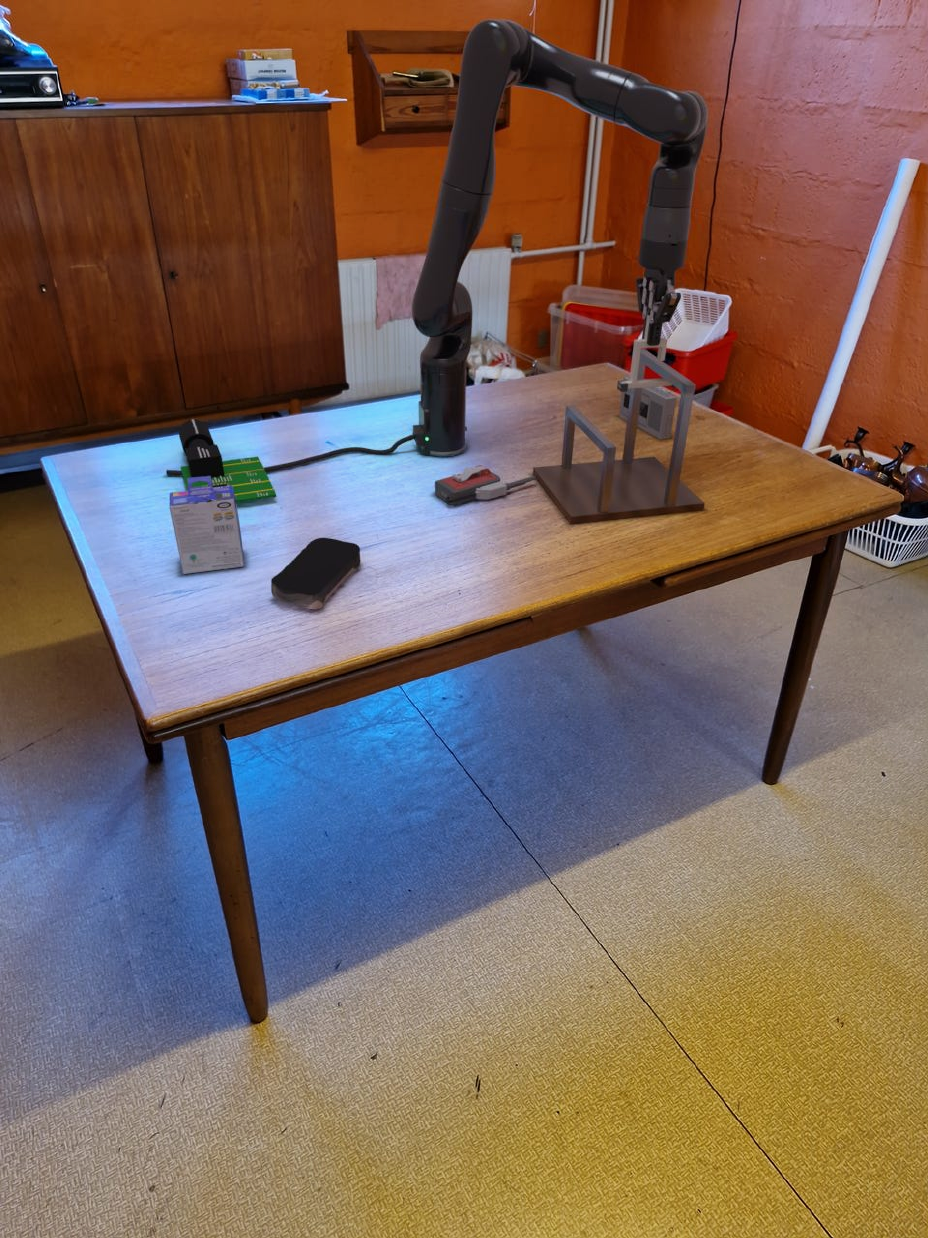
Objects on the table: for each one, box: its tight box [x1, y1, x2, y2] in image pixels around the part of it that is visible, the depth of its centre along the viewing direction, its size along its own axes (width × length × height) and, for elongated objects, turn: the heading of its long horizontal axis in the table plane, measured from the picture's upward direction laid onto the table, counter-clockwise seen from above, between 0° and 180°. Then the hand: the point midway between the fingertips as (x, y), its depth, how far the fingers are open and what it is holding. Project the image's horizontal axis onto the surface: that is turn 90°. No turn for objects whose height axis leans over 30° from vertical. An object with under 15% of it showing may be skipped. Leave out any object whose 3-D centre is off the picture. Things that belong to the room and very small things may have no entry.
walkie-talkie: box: [434, 464, 537, 506], centre depth 161 cm, size 9×4×20 cm
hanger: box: [616, 315, 677, 393], centre depth 149 cm, size 11×2×13 cm, turn 104°
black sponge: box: [270, 537, 361, 610], centre depth 132 cm, size 16×8×4 cm, turn 160°
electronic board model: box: [178, 418, 277, 504], centre depth 164 cm, size 30×7×15 cm
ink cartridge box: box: [168, 476, 245, 575], centre depth 134 cm, size 10×6×14 cm, turn 107°
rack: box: [532, 348, 706, 525], centre depth 156 cm, size 26×22×24 cm
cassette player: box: [618, 376, 678, 441], centre depth 188 cm, size 16×3×10 cm, turn 27°
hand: (650, 342), depth 148 cm, fingers closed on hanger, 1 cm apart
